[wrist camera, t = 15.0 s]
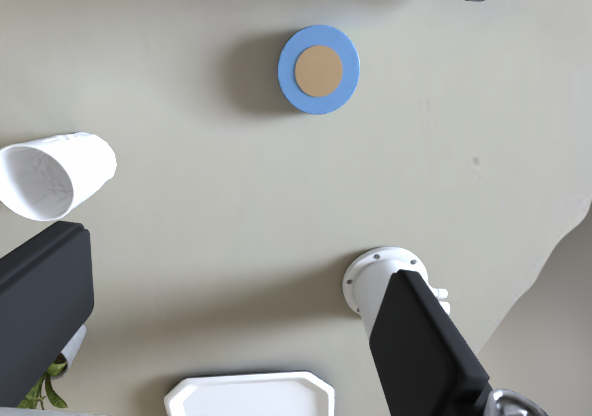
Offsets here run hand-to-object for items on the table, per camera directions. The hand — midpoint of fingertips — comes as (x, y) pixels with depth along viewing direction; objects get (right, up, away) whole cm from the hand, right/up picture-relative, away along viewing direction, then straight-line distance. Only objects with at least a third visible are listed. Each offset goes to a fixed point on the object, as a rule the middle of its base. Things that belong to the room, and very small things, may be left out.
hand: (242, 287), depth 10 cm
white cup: (-24, +9, +31) cm, 40 cm away
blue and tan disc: (+4, +18, +28) cm, 33 cm away
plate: (-6, -37, +51) cm, 63 cm away
